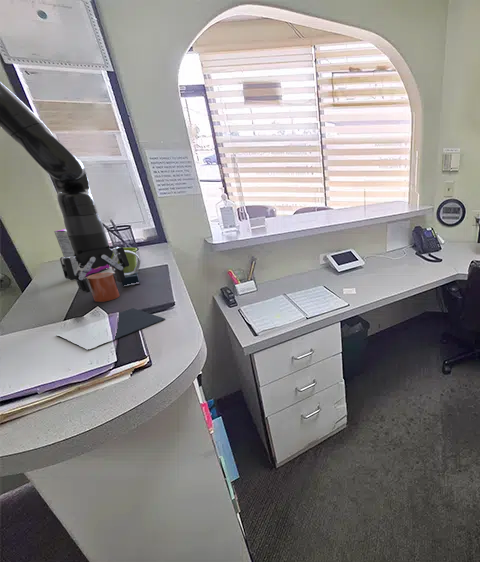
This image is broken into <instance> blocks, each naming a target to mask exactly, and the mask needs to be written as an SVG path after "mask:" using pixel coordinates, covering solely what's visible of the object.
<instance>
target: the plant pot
mask: <svg viewBox="0 0 480 562" xmlns="http://www.w3.org/2000/svg"><path fill="white" fill-rule="evenodd" d="M122 248H123V249H124V250H126V251H127V250H129V251H132V252H134V253H136V254H137V251H138V248H137V247H122ZM125 254H126V257H127V259H128V262H129V266H128V267H125V268H124V269H123V272H124V273H128V272H133V271H134V269H135V267H136V265H137V257H136V256H135V255H133V254H131V253H127V252H126V253H125ZM113 256H114V253H113V254H112V256H111V258H110V259H112V258H113ZM117 264H120V262H119V261H118V263H117Z"/></svg>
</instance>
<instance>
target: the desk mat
mask: <svg viewBox="0 0 480 562" xmlns="http://www.w3.org/2000/svg"><path fill="white" fill-rule="evenodd" d="M118 313H119V322H118V329H117V333H116V336H115V340H114V341H116V340H119V339H121V338H124V337H126V336H128V335H131V334H134V333H136V332H139V331H141V330H144V329H146V328H148V327H151V326H154V325H156V324H158V323H160V322H163V321H165V320H166V318H165V317H161V316H159V315H155V314H153V313H150V312H146V311H143V310H141V309H137V308H134V307H132V308H129V309H127V310H126V309H125V310H124V311H120V312H118Z"/></svg>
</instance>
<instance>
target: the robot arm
mask: <svg viewBox="0 0 480 562" xmlns="http://www.w3.org/2000/svg"><path fill="white" fill-rule="evenodd" d="M0 128H1V129H2V130H3V132H5V133H6V134H7V135H8V136H10V137H11V139H13V140H14V141H15V142H16V143H17V144H19V145H20V146H21V147H22V148H23V149H24V150H25V151H26V153H28V155H29V156H30V157H31V158H32V159H33V160H34V161H35V162H36V163H37V164H38V165H39V166H40V167H41V168H42V170H43V171H45V172H46V173H47V174H48V175H49V176H51V177H52V180H53V183H54V185H55V188H56V191H57V195H56V197H57V203H58V206H59V209H60V211H61V215H62V218H63V223H64V228H65V229H66V230H67V233H68V236H69V239H70V242H71V245H72V247H73V250H74V256H73V257H64V256H61V257H60V258H59V260H60V265H61V268H62V272H63V275H64V278H65V279H66V280H69V281H76V284H77V287H78V288H79V289H78V290H80V291H81V292H84V293H86V294H87V293H90V292H91V289H90V286H89V283H88V280H87V278H86V277H85V276H86V274H87V273H88V272H89V270H90V268H92V269H94V268H97V267H100V266H106V265H107V264H108V265H109V266H111V267H110V268H112V267H113V268H114V269H115V270H114V271H115V272H114V271H113V272H114V274H115V276H116V278H115V279H116V280H117V281H116V282H118V283H120V284H122V282H124V280H125V275H124V272H123V269H124V268H125V267H128V266H129V262H128V259H127V257H126V254H125V251H124V249H123V248H124V247H121V246H115V247H113V248H111V247H110V243H109V240H108V238H107V234H106V231H105V226H104V224H103V221H102V219H101V217H100V215H99V212H98V208H97V206H96V202H95V200H94V197H93V195H92V192H91V188H90V183H89V182H90V181H89V178H88V177H89V176H88V174H87V170H86V166H85V165H84V163H83V161H82V160H81V159H80V158H79V157H78V156H76V155H75V154H73V153H72V152H71V151H70V150H69V149H68V148H67V147H66V146H65V145H64V144H63V143H62V142H60V141H59V140H58V139H57V138H56V137H55V136H54V134H53V133H52V131H51V130H50V128H48V127H47V125H46V124H45V123H44V122H43V121H42V120H41V119H40V117H38V116H37V115H36V113H34V112H33V111H32V110H31V109H30V108H29V107H28V106H27V105H26V104H25V103H24V102H23V101H22V100H21V99H20V98H19V97H18V96H17V95H15V93H14V92H12V90H10V89H9V88H8V87H6V85H4V84H3V83H2V81H0ZM113 253H114V254H115V255H117V257H118V259H119V262H120V264H117V262H115V261H114V260H112V259H110V258H111V256H112V254H113ZM75 260H76V261H77V262H79V263H80V264H79V266H78V268H77V272H76V274H75V275H74V271H73V267H72V265H73V264H74V261H75ZM85 278H86V279H85Z"/></svg>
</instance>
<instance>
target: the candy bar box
mask: <svg viewBox="0 0 480 562" xmlns="http://www.w3.org/2000/svg"><path fill="white" fill-rule="evenodd" d="M53 232H54V235H55V238H56V240H57V242H58V246H59V248H60V251H61V253H62V255H63V256H62V257H73V256H74V250H73V247H72V245H71V242H70V239H69V236H68V233H67V230H66V228H63V229H59V230H54V231H53ZM79 264H80V263H79V262H77V261H76V260H75V261H74V264H73V265H72V267H73V271H74V275H75V274H76V272H77V268H78V266H79ZM109 267H110V265H108V264H107V265H106V266H100V267H97V268H94V269H92V268H90V270H89V272H88V273H87V274H86V276H85V278H87V277H88V276H90V275H93V274H97V273H101V272H102V270H103V271H105V270H107V269H106V268H108V269H110V268H111V267H110V268H109ZM104 269H105V270H104Z"/></svg>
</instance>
